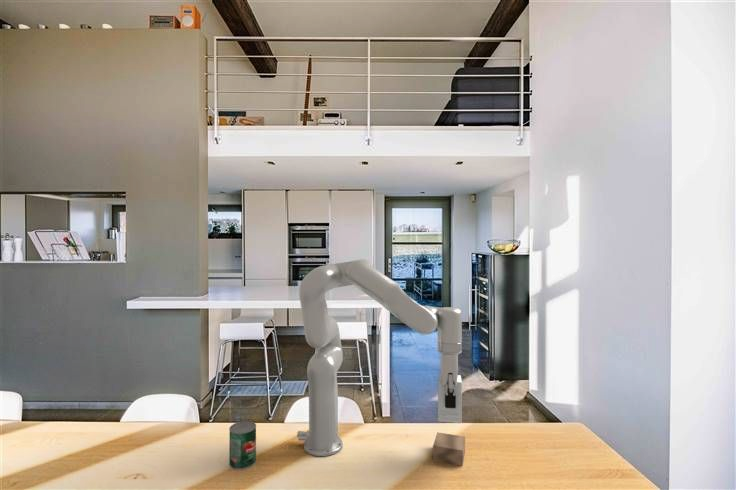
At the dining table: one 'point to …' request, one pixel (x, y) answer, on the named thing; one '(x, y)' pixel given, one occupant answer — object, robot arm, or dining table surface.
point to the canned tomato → (242, 445)
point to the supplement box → (450, 413)
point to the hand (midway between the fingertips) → (449, 402)
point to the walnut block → (449, 449)
